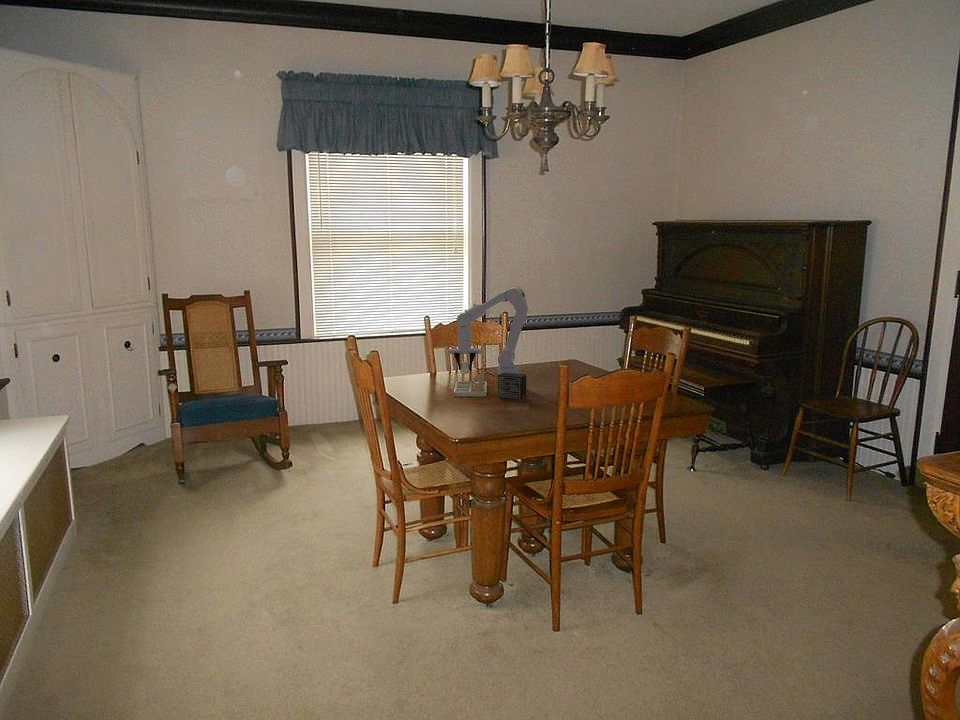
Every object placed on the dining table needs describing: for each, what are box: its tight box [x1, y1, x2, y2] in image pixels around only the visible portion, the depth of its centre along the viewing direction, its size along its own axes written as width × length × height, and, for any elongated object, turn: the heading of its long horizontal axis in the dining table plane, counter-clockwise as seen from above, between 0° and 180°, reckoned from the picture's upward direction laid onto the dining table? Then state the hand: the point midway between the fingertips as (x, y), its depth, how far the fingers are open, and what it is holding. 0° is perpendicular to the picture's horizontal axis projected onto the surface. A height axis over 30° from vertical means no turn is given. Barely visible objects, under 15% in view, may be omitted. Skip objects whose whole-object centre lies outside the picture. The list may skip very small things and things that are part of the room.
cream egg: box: [459, 360, 471, 375], centre depth 321 cm, size 4×4×5 cm
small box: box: [497, 372, 527, 400], centre depth 295 cm, size 11×6×10 cm, turn 65°
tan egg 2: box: [473, 382, 483, 392], centre depth 300 cm, size 4×4×5 cm
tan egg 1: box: [473, 374, 484, 385], centre depth 312 cm, size 4×4×5 cm
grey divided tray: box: [453, 380, 488, 397], centre depth 306 cm, size 14×20×3 cm
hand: (465, 369), depth 321 cm, fingers closed on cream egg, 4 cm apart
